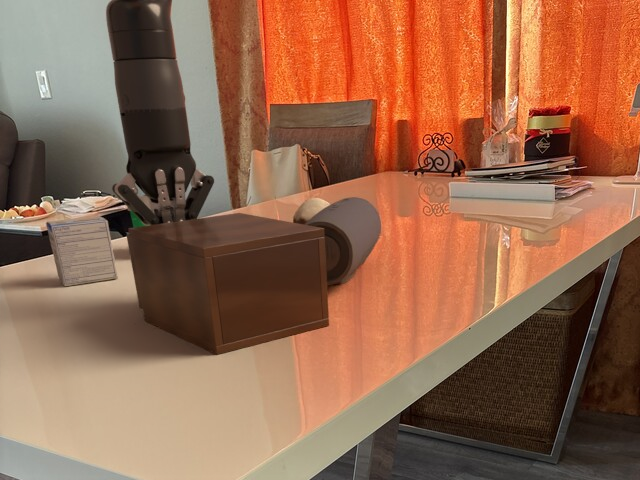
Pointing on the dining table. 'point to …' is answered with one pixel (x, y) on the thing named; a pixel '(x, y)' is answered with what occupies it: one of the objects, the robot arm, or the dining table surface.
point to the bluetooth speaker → (347, 236)
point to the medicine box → (82, 250)
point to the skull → (309, 210)
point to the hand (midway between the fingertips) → (176, 258)
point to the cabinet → (231, 279)
